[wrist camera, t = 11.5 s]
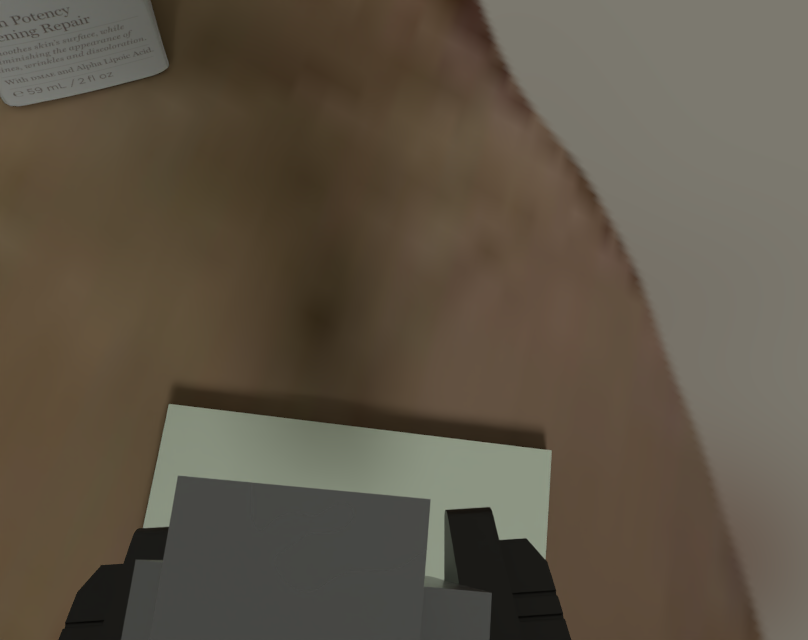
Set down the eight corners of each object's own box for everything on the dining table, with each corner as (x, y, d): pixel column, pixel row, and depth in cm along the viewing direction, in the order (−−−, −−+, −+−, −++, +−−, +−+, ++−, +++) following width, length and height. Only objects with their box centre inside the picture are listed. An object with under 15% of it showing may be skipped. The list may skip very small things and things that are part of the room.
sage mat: (83, 841, 21) (75, 849, 20) (173, 407, 25) (168, 403, 24) (522, 892, 21) (526, 901, 21) (547, 452, 25) (551, 450, 24)
